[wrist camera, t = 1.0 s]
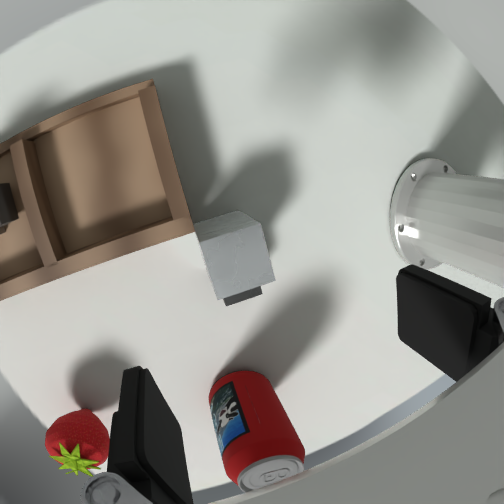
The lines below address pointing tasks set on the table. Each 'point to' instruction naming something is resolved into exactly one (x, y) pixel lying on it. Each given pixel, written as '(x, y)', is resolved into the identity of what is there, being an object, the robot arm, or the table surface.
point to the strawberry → (78, 441)
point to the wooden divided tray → (87, 189)
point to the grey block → (234, 256)
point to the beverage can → (254, 431)
